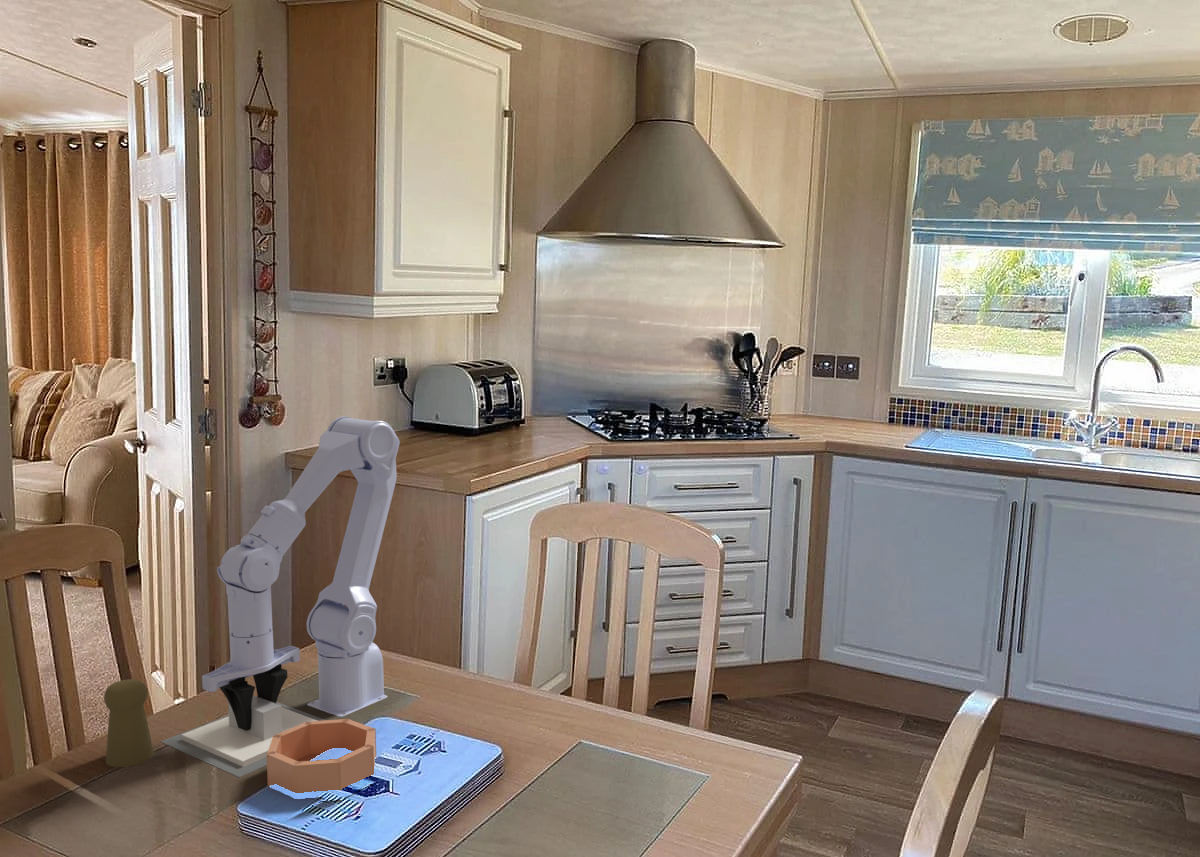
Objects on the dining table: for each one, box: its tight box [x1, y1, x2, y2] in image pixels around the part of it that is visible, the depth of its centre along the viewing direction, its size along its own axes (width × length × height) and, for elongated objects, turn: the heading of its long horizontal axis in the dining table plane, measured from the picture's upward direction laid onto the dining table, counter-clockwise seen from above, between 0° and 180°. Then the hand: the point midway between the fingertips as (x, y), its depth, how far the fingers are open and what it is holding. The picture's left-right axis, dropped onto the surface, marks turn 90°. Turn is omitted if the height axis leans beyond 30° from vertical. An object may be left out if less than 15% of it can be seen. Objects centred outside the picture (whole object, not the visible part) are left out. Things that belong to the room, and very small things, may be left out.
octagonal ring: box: [266, 718, 377, 793], centre depth 129 cm, size 13×13×5 cm
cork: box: [103, 678, 155, 768], centre depth 133 cm, size 6×6×11 cm
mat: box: [160, 701, 325, 778], centre depth 141 cm, size 18×18×1 cm
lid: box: [182, 694, 317, 767], centre depth 140 cm, size 14×14×5 cm
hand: (255, 724), depth 141 cm, fingers closed on lid, 3 cm apart
